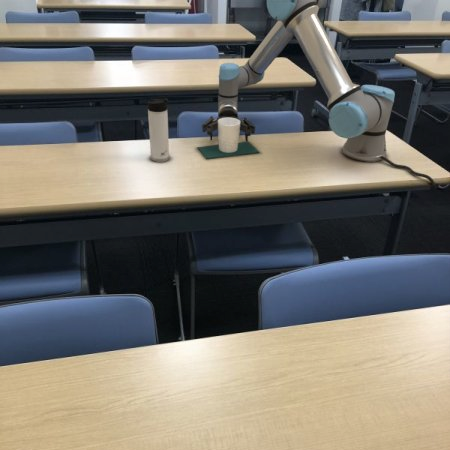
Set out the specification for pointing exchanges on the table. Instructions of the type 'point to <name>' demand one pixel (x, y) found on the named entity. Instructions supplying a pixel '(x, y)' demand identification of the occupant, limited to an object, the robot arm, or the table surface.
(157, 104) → the travel mug
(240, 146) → the placemat
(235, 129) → the white cup
